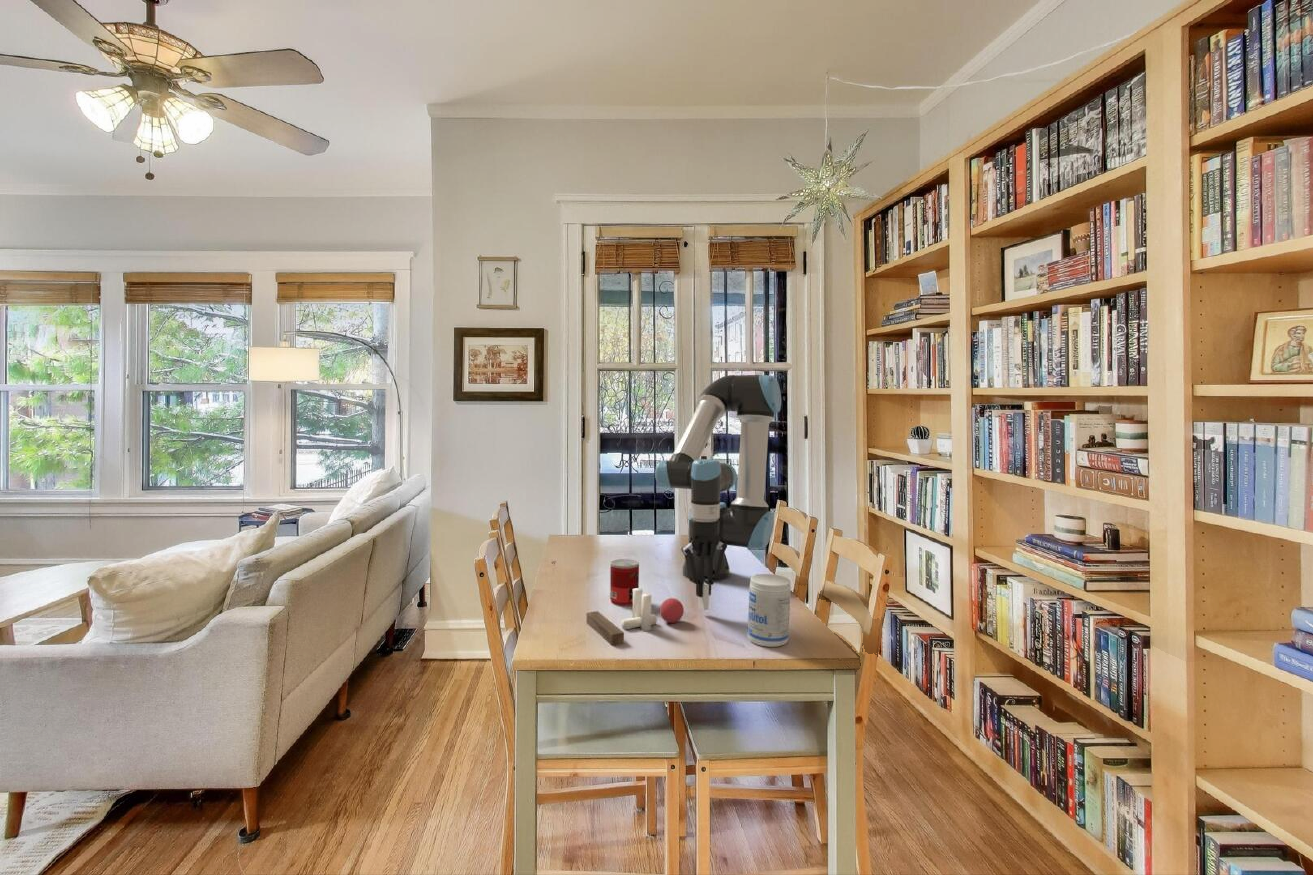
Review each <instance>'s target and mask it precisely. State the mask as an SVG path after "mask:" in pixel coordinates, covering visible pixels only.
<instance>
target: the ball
mask: <svg viewBox="0 0 1313 875" xmlns="http://www.w3.org/2000/svg"><path fill="white" fill-rule="evenodd" d="M684 610H685V609H684V605H683V603H682V602H681V601H680V600H679V599H677V598H667V599H665V600H664V601H663V602H662V603H661V604H660V608H659V613H660V616H661V618H662V619H663V620H664V621H665V622H667V623H670V624H671V623H678V622H679V621H680V620H681V619H682V618H683V615H684V612H685V611H684Z"/></svg>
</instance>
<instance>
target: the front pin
mask: <svg viewBox="0 0 1313 875" xmlns="http://www.w3.org/2000/svg"><path fill="white" fill-rule="evenodd" d="M656 624H657V617H656V614H651V626H652V625H656ZM636 627H637V628H641V617H635V618H633V617H630V618H626V619H622V620H621V628H622V629H623V630H624V629H625V630H630V629H636Z"/></svg>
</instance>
